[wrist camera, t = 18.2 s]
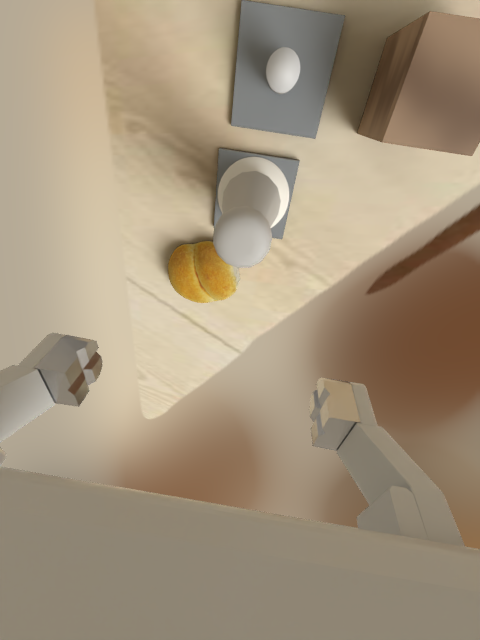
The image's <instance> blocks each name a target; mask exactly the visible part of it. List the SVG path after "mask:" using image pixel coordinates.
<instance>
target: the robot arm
mask: <svg viewBox="0 0 480 640" xmlns="http://www.w3.org/2000/svg"><path fill="white" fill-rule="evenodd" d="M98 348H99V347H98V345H97V342H96V341H94V340H90V339H85V338H79V337H74V336H69V335H63V334H57V333H51V334H49V335H47V336H46V337H45V338H44V339H43V340H42V341H41V342H40V343H39V344H38V346H36V348H35V349H33V350H32V352H31V353H30V354H29V355H28V356H27V357H26V358H25V359H24V360H23V361H22V362H21V363H20V364H19V365H18V366H15V365H12V366H10V367H8V368H6V369H3V370H1V371H0V442H2V441H3V440H4V439H6V438H7V437H9V436H10V435H12V434H13V433H15V432H16V431H18V430H19V429H20V428H22V427H23V426H25V425H26V424H27V423H29V422H31V421H32V420H33V419H35V418H36V417H38V416H39V415H40V414H42V413H44V412H45V411H46V410H48V409H49V408H51V407H52V406H54V405H55V403H57V404H64V405H72V406H80V404H81V403H82V401H83V400H84V398H85V397H86V395H87V394H88V392H89V387H88V385H90V384H91V383H93V382H95V381H96V380H97V378H98V376H99V375H100V372H101V369H102V359H101V356H100V355H99V354H98V353H97V352H96V350H97V349H98ZM309 408H310V409H309V412H310V418H311V419H312V420H313V422H314V423H313V425H312V427H311V434H312V444H313V446H315V447H320V448H325V449H331V450H335V451H337V454H338V455H339V457H340V458H341V460H342V462H343V463H344V465H345V467H346V468H347V470H348V471H349V473H350V475H351V476H352V478H353V479H354V481H355V483H356V484H357V486H358V487H359V489H360V491H361V492H362V494H363V495H364V497H365V499H366V500H367V502H368V503H369V505H370V506H368V507H367V508H366V509H365V510H364V511H363V512H362V513H361V514H359V516H358V517H357V523H358V528H353V527H347V526H342V525H336V524H330V523H325V522H319V521H313V520H307V519H301V518H295V517H290V516H284V515H278V514H272V513H267V512H261V511H255V510H249V509H243V508H238V507H232V506H225V505H220V504H214V503H209V502H203V501H197V500H191V499H186V498H180V497H174V496H168V495H162V494H157V493H151V492H145V491H139V490H133V489H128V488H121V487H116V486H110V485H104V484H99V483H93V482H87V481H81V480H75V479H70V478H63V477H58V476H52V475H46V474H41V473H34V472H28V471H22V470H17V469H12V468H6V467H0V640H480V549H475V548H469V547H465V545H464V543H463V541H462V538H461V536H460V533H459V531H458V528H457V526H456V523H455V521H454V518H453V516H452V514H451V511H450V509H449V506H448V504H447V501H446V499H445V496H444V494H443V493H442V491H441V490H440V489H439V488H438V487H437V486H436V485H435V484H434V483H433V482H432V481H431V479H430V478H429V477H428V476H427V475H426V474H425V473H424V472H423V471H422V470H421V469H420V468H419V467H418V466H417V464H416V463H415V462H414V461H413V460H412V459H411V458H410V457H409V456H408V455H407V454H406V452H405V451H404V450H403V449H402V448H401V447H400V446H399V445H398V444H397V443H396V442H395V441H394V439H393V438H392V437H391V436H390V435H389V434H388V433H387V432H386V431H385V430H384V429H383V428H382V427H379V426H377V422H376V419H375V416H374V412H373V409H372V406H371V403H370V399H369V396H368V393H367V389H366V387H365V385H363V384H358V383H352V382H347V381H340V380H334V379H327V378H320V379H319V380H318V383H317V390H315V391H314V392H313V394H312V396H311V399H310V406H309ZM5 459H6V453H5V452H4V451H3V450H2V449H1V447H0V465H1V464H2V463H3V461H4V460H5Z"/></svg>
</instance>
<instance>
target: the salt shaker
mask: <svg viewBox="0 0 480 640" xmlns="http://www.w3.org/2000/svg"><path fill="white" fill-rule="evenodd" d="M280 203H281V200H280V196H279V191H278V187H277V186H276V185H275V184H274V182H273V181H272V180H271V179H270V178H269V176H266V175H264V174H262V173H260V172H258V171H250V172H242V173H240V174H239V175H237V176H235V177H234V178H232V179H231V180H230V181H229V183H228V185H227V186H226V188H225V190H224V192H223V201H222V212H223V214H222V215H221V217H220V218H219V220H218V222H217V224H216V225H215V227H214V236H213V245H214V247H215V249H216V252H217V254H218V256H219V257H220V258H221V259H222V260H223V261H224V262H225V263H226V264H229V265H232V266H234V267H237V268H249V267H252V266H254V265H256V264H258V263H260V262H261V261H262V260H263V258H264V257H265V256H266V255H267V253H268V252H269V250H270V246H271V240H272V232H271V228H270V227H271V226H272V224H273V222H274V221H275V219H276V218H277V216H278V213H279V208H280Z"/></svg>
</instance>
